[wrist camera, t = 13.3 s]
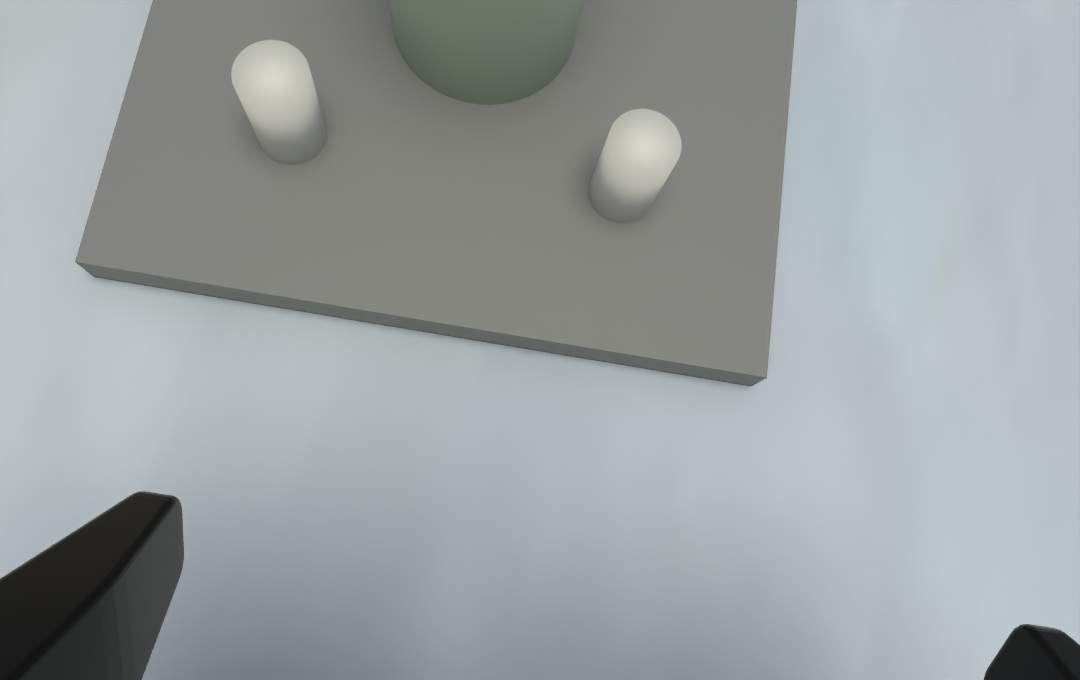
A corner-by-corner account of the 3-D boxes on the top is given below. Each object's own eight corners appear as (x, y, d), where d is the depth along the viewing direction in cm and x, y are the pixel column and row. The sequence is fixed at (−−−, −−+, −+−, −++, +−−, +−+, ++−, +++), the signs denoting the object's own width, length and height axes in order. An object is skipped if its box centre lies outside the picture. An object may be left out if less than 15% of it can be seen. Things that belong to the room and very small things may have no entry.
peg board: (751, 385, 24) (812, 352, 20) (93, 276, 23) (18, 217, 19) (796, -143, 29) (853, -258, 25) (248, -257, 28) (214, -396, 23)
